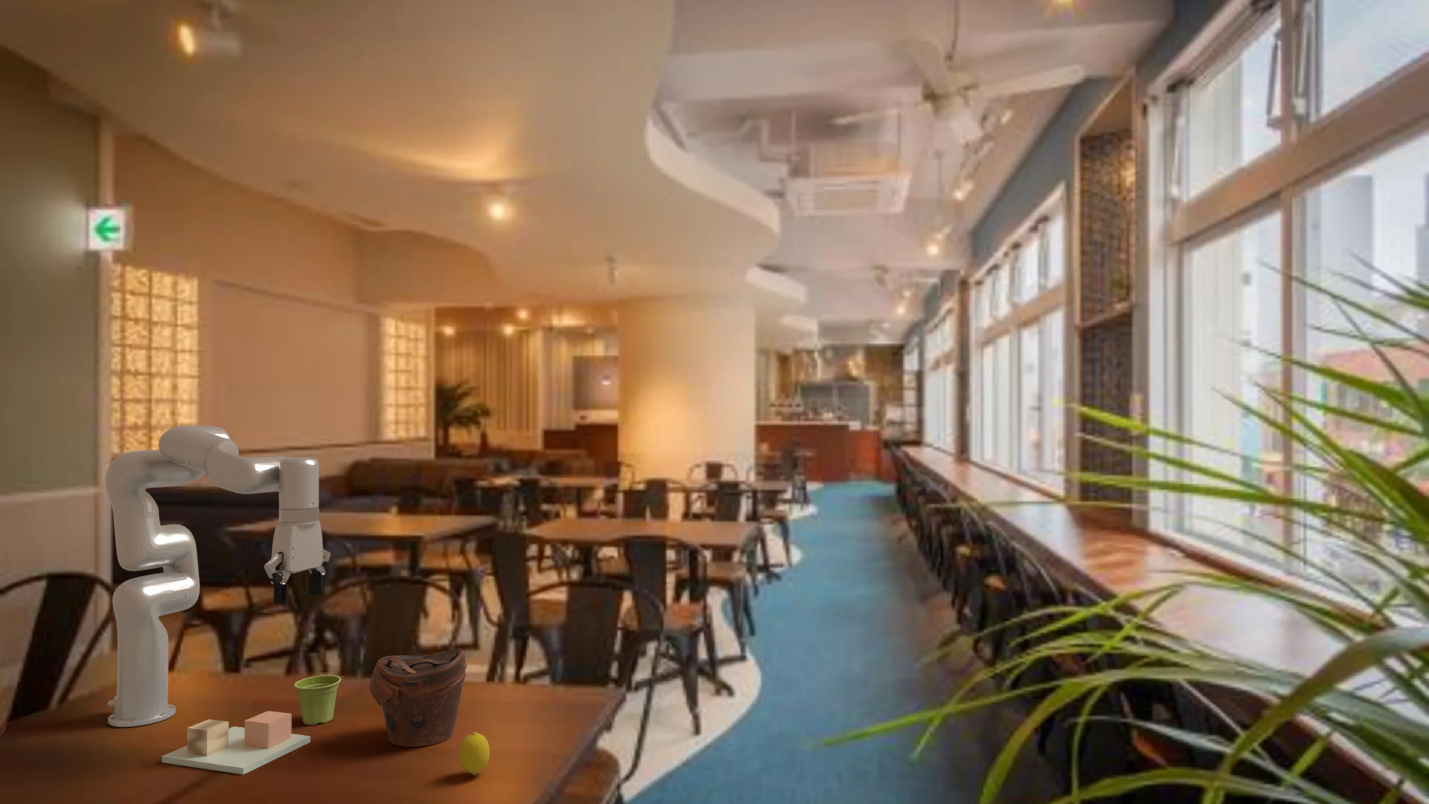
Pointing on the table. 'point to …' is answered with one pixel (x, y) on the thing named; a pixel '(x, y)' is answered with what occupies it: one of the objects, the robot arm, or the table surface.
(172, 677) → the table surface
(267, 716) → the base block
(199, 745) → the maple cube
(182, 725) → the table surface
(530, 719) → the table surface
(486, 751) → the lemon
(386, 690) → the case
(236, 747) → the building board
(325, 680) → the plant pot
